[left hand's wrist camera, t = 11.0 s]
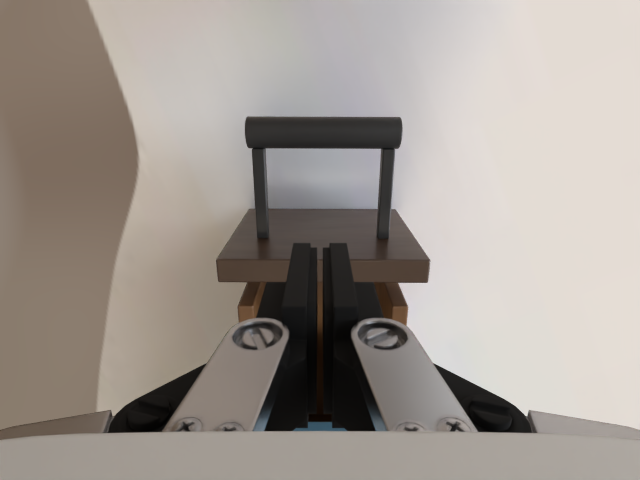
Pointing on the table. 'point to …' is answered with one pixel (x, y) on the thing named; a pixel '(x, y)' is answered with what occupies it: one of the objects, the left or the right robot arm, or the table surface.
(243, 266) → the drawer
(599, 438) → the left robot arm
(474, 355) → the table surface
